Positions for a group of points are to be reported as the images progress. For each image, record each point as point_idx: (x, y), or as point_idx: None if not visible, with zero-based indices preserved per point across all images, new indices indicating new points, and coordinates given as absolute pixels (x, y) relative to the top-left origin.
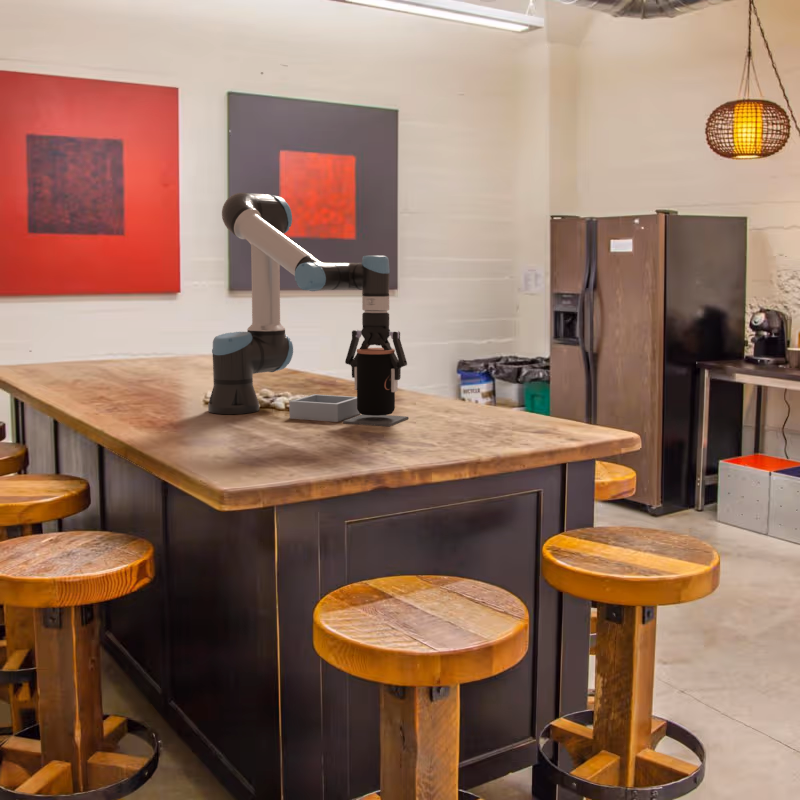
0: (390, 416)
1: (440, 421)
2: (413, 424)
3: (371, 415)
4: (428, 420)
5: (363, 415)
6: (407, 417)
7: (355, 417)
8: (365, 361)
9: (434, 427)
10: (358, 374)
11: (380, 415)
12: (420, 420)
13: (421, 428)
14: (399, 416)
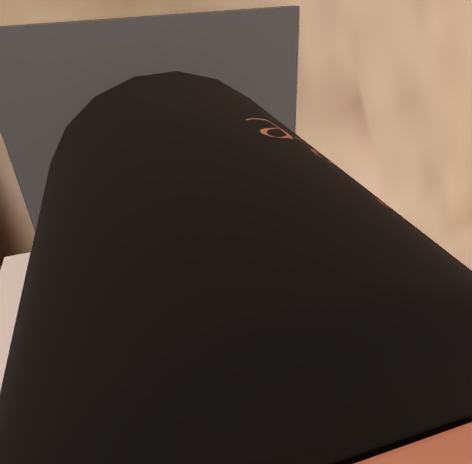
0: (199, 56)
1: (468, 8)
2: (364, 155)
3: (71, 81)
4: (408, 6)
5: (25, 107)
6: (297, 24)
7: (37, 193)
8: None
9: (454, 172)
10: None
11: (123, 51)
12: (369, 28)
13: (411, 215)
14: (248, 28)
